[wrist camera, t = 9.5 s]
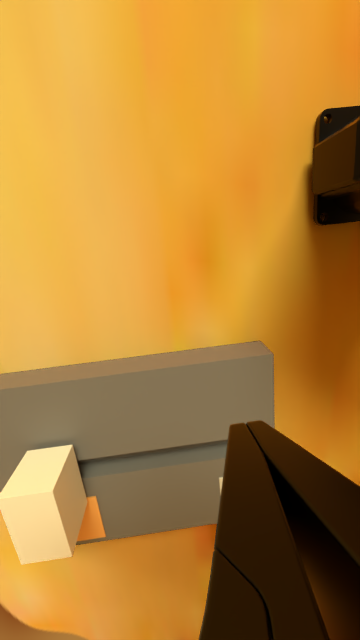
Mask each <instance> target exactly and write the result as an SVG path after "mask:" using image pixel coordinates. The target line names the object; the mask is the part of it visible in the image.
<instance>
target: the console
mask: <svg viewBox="0 0 360 640" xmlns="http://www.w3.org/2000/svg"><path fill="white" fill-rule="evenodd" d="M257 420H262V421H264V422H265V423H267V424H268V425H270V426H271V427H273V428H274V358H273V353H272V352H271V351H270V350H269V349H268V348H267V347H266V346H265V345H264V344H263V343H262V342H261V341H254V342H246V343H239V344H231V345H223V346H215V347H208V348H200V349H192V350H184V351H177V352H169V353H161V354H153V355H146V356H138V357H130V358H122V359H114V360H107V361H99V362H91V363H83V364H76V365H68V366H60V367H52V368H45V369H37V370H29V371H21V372H14V373H6V374H0V493H1V492H2V490H3V488H4V487H5V485H6V484H7V482H8V480H9V479H10V477H11V476H12V474H13V473H14V471H15V469H16V468H17V466H18V465H19V463H20V462H21V460H22V458H23V457H24V455H25V454H26V452H27V451H30V450H37V449H44V448H51V447H58V446H65V445H73V448H74V452H75V456H76V460H77V463H78V467H79V471H80V475H81V479H82V483H83V486H84V490H85V494H86V498H87V506H86V509H85V513H84V516H83V520H82V524H81V527H80V531H79V534H78V538H77V542H76V545H80V544H87V543H93V542H100V541H106V540H112V539H119V538H125V537H132V536H138V535H145V534H151V533H158V532H164V531H171V530H177V529H184V528H190V527H197V526H203V525H210V524H216V523H217V521H218V513H219V505H220V497H221V489H222V481H223V473H224V465H225V457H226V449H227V441H228V433H229V426H230V425H231V424H236V423H245V424H246V423H247V422H250V421H257Z"/></svg>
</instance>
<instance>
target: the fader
mask: <svg viewBox="0 0 360 640" xmlns="http://www.w3.org/2000/svg"><path fill="white" fill-rule="evenodd" d="M86 506H87V498H86V494H85V490H84V486H83V483H82V479H81V475H80V471H79V467H78V463H77V460H76V456H75V452H74V448H73V445H65V446H58V447H51V448H44V449H37V450H30V451H27V452H26V454H25V455H24V457H23V458H22V460H21V462H20V463H19V465H18V466H17V468H16V469H15V471H14V473H13V474H12V476H11V477H10V479H9V480H8V482H7V484H6V485H5V487H4V488H3V490H2V492H1V493H0V510H1V513H2V515H3V518H4V520H5V523H6V526H7V528H8V531H9V534H10V536H11V539H12V541H13V544H14V547H15V549H16V552H17V555H18V557H19V560H20V562H21V565H22V564H28V563H35V562H41V561H48V560H54V559H60V558H67V557H72V556H73V552H74V549H75V545H76V542H77V538H78V534H79V531H80V527H81V524H82V520H83V516H84V513H85V509H86Z"/></svg>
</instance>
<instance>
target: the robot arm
mask: <svg viewBox="0 0 360 640" xmlns="http://www.w3.org/2000/svg"><path fill="white" fill-rule="evenodd" d="M324 117H327V118H328V124H327V123H325V122H324ZM312 192H313V193H314V216H313V219H314V222H315V224H317V225H329V224H338V223H346V222H355V221H360V106H352V107H341V108H331V109H326V110H324V111H323V112H322V113H321V114H319V115H318V117H317V120H316V142H315V147H314V149H313V171H312ZM322 214H324V220H323V221H322V220H321V218H320V217H321V215H322ZM199 640H360V486H358V485H357V484H355V483H354V482H353V481H351V480H350V479H348V478H347V477H345V476H344V475H342V474H341V473H339V472H338V471H336V470H335V469H333V468H332V467H330V466H329V465H327V464H326V463H324V462H323V461H321V460H320V459H318V458H317V457H316V456H314V455H313V454H311V453H310V452H308V451H307V450H305V449H304V448H302V447H301V446H299V445H298V444H296V443H295V442H293V441H292V440H290V439H289V438H287V437H286V436H284V435H283V434H281V433H280V432H278V431H277V430H276V429H274V428H273V427H271V426H270V425H268V424H267V423H265V422H264V421H262V420H257V421H250V422H247V423H246V424H245V423H236V424H231V425H230V426H229V433H228V441H227V449H226V457H225V465H224V473H223V481H222V489H221V497H220V505H219V513H218V521H217V529H216V537H215V545H214V552H213V559H212V567H211V575H210V581H209V587H208V594H207V600H206V607H205V613H204V617H203V622H202V627H201V631H200V636H199Z"/></svg>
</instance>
